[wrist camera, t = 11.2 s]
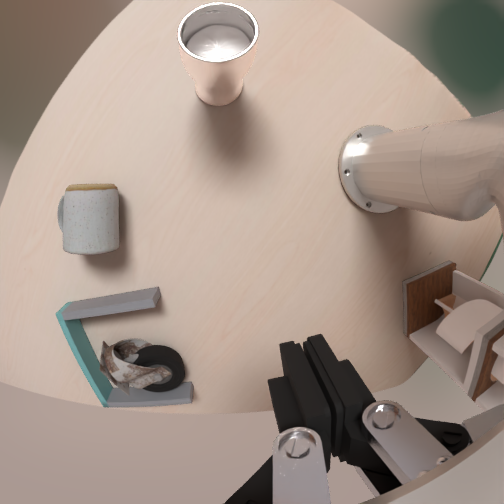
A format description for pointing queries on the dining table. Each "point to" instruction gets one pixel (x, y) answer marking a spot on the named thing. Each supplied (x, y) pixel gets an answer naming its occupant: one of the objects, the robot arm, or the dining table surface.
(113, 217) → the ceramic mug
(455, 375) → the white shelf stand
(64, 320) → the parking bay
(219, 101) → the beer glass
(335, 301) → the dining table surface
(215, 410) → the dining table surface
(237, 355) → the dining table surface
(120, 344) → the caster wheel
